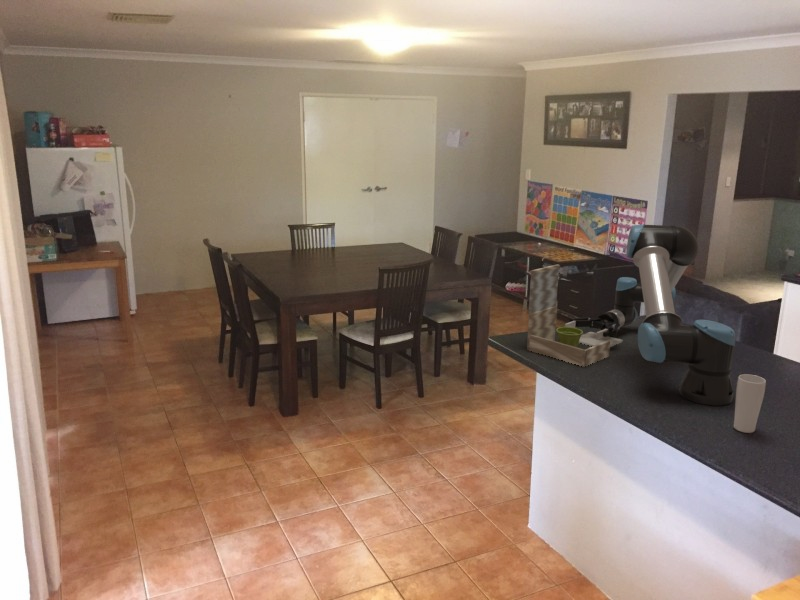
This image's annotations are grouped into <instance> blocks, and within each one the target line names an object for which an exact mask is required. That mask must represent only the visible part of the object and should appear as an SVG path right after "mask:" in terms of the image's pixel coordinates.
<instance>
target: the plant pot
mask: <svg viewBox="0 0 800 600" xmlns="http://www.w3.org/2000/svg"><path fill="white" fill-rule="evenodd" d="M555 332H556V334H557V338H558V340H557V342H559V343H563V344H566V345H570V346H573V347H577V348H579V344H580V343H579V340H580V337H581V335H583V334H584V332H583V329H580V328H578V327H575V328H573V327H564V326H558V327H556V331H555Z"/></svg>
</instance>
